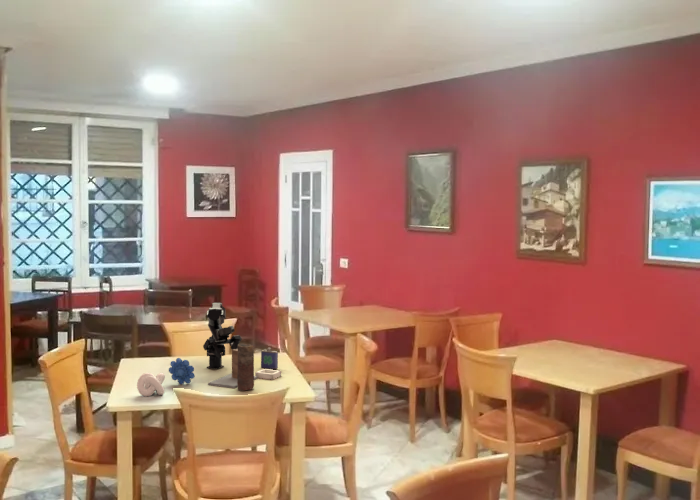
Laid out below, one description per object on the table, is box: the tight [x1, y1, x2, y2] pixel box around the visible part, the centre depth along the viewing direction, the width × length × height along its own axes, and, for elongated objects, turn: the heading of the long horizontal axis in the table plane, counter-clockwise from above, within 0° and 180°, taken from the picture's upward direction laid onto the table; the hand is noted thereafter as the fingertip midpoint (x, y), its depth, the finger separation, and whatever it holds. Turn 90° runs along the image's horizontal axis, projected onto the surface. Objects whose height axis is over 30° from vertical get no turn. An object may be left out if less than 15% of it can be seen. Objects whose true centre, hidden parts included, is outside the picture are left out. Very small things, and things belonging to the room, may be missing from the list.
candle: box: [237, 343, 255, 392], centre depth 308 cm, size 8×7×20 cm
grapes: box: [168, 357, 196, 385], centre depth 314 cm, size 12×7×12 cm, turn 95°
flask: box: [260, 347, 279, 370], centre depth 348 cm, size 9×3×11 cm, turn 68°
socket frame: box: [254, 368, 282, 380], centre depth 331 cm, size 8×9×2 cm
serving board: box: [207, 372, 259, 389], centre depth 322 cm, size 20×14×1 cm
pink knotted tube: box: [136, 372, 166, 397], centre depth 298 cm, size 11×12×9 cm
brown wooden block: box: [231, 349, 238, 379], centre depth 325 cm, size 4×5×13 cm
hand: (229, 356), depth 331 cm, fingers open, 9 cm apart
